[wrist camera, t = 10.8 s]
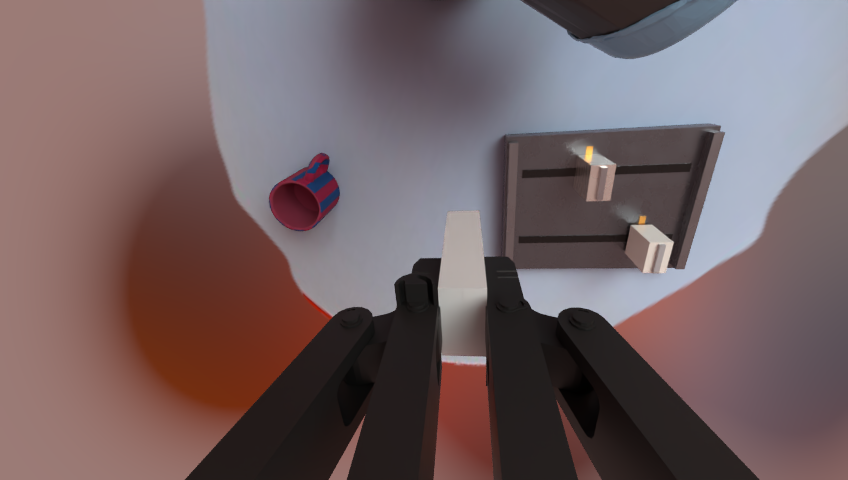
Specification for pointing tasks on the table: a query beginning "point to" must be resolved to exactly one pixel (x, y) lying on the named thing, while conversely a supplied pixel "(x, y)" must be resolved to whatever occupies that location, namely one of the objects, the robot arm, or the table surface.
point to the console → (603, 192)
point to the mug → (305, 196)
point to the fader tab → (648, 248)
